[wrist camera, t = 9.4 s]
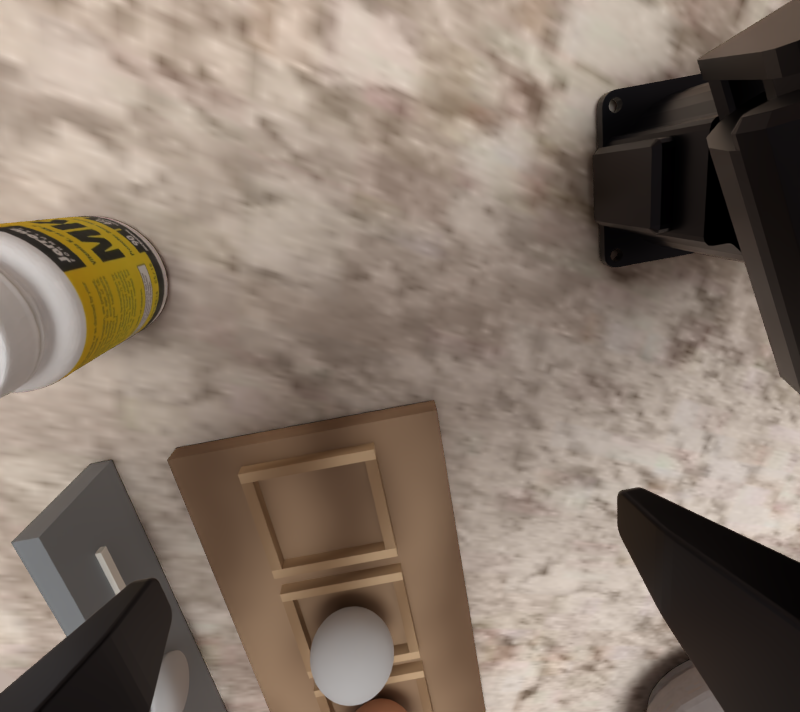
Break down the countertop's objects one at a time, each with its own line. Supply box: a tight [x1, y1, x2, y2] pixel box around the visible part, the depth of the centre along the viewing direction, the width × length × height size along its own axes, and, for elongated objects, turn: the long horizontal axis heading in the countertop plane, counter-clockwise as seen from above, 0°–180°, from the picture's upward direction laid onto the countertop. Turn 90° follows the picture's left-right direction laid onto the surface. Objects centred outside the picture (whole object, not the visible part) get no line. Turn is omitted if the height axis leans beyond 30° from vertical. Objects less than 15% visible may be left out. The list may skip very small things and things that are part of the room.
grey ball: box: [310, 606, 394, 706], centre depth 22 cm, size 4×4×4 cm
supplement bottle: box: [0, 216, 168, 398], centre depth 14 cm, size 5×5×8 cm
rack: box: [167, 400, 485, 712], centre depth 24 cm, size 12×22×2 cm, turn 10°
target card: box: [11, 460, 227, 712], centre depth 23 cm, size 1×22×5 cm, turn 10°
